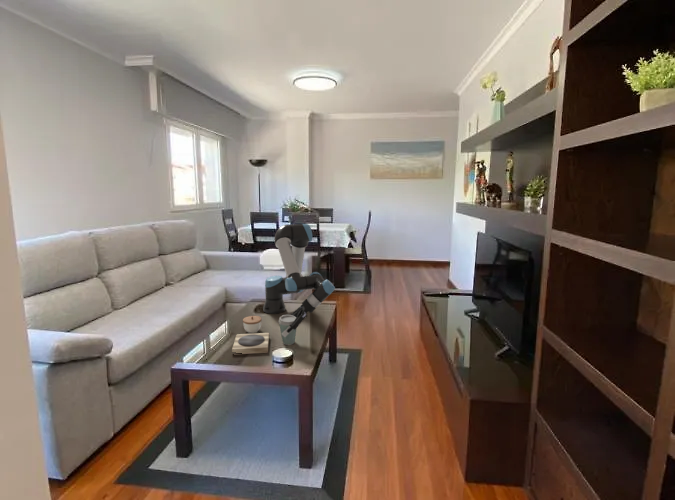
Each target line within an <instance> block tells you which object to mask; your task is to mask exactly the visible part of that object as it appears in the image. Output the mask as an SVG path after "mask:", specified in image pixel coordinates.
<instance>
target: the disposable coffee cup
mask: <svg viewBox="0 0 675 500" xmlns="http://www.w3.org/2000/svg"><path fill="white" fill-rule="evenodd" d="M295 319H296V317H295V316H293V315H291V314H283V315H281V316H279V318H278V324H279V325H278V326H279V329H280V335H281V340H282V343H283V344H284V345H285V346H292V345H293V344H295V342H296V335H297V328H298V327H297V328H296V329H295V330H294V329H293V330H292V331H291V332H290V333H289V334H288V335H287V336H286V337H284V336H283V335H282V333H283V332H284V331H285V330H286V329H287V328H288V327H289V325H291V324H292V323H293V322H294V320H295Z"/></svg>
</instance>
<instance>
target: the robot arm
mask: <svg viewBox="0 0 675 500" xmlns="http://www.w3.org/2000/svg"><path fill="white" fill-rule="evenodd" d="M310 242H313V231H312V228H311V226H310V224H308V223H295V224H294V223H293V224H291V223H290V224H289V223H288V224H283V225H281V226H279V228H278V229H277V231H276V232H275V234H274V244H275V247H276V248H277V249H278V252H279V255H280V258H281V262H282V265H283V268H284V271H285V277H283V276H282V275H272V276H269V277H267V278H266V279H265V282H264V284H265V285H264V289H265V290H264V291H265V301H264V304H263V307H262V309H263V310H262V311H263V312H264V313H266V314H270V315H273V314H274V315H275V314H281V313H284V312H285V311H286V305H285V301H284V298H283V297H284V295H292V294H293V295H294V294H298V293H302V292H304V290H307V291H308V290H313V289H314V290H313V292H311V293H310V294H309V295H308V296H307V298H305V299H304V300H303V301H302V302H301V305H300V306H299V307H298V308H297V309H294V311H292V313H290V315H293V316H295V317H296V319H295V320H294V322H293V323H292V324H291V325H289V327H288V328H287V329H286V330H285V331H284V332H283V333H282V335H283V336H284V337H286V336H287V335H288V334H289V333H290V332H291V331H292V330H293V329H294V330H295V329H296V328H298V327H299V326H300V324H301V323H302V322H303V320H305V319H306V318H307V317H308V315H307V313H311V314H312V313H313V312H314V311H315V310H316V308H318V307H319V306H321V305H322V303H323V302H325V300H327V298H328V297H329V296H330V295H331V294H332V293H333V292H334V291H335V289H336V286H334V284H333V283H332V282H331V281H330V280H329V279H324V278H323V275H322V274H321V273H320V272H318V271H313V272H311V273H310V274H309V275H305V276H304V275H303V274H302V271H303V263H304V258H305V252H306V251H305V250H306V248H307V247H308V245H309V243H310ZM296 330H297V329H296Z"/></svg>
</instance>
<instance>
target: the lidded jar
mask: <svg viewBox="0 0 675 500" xmlns="http://www.w3.org/2000/svg"><path fill="white" fill-rule="evenodd" d="M242 325H243V328H244V331H245V332H247V334H254V333H259V330H261V327H262V317H261V316H259V315H249V316H245V317H244V318H243V319H242Z"/></svg>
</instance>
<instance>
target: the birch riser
mask: <svg viewBox="0 0 675 500" xmlns="http://www.w3.org/2000/svg"><path fill="white" fill-rule="evenodd" d="M269 344H270V332H260V333H259V332H256V333H240V334H239V333H237V334H236V335H235V338H234V343H233V345H232V348H231V352H236V353H242V354H241V355H246V354H263V353H265V354H266V353H267V354H268V353H269Z"/></svg>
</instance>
